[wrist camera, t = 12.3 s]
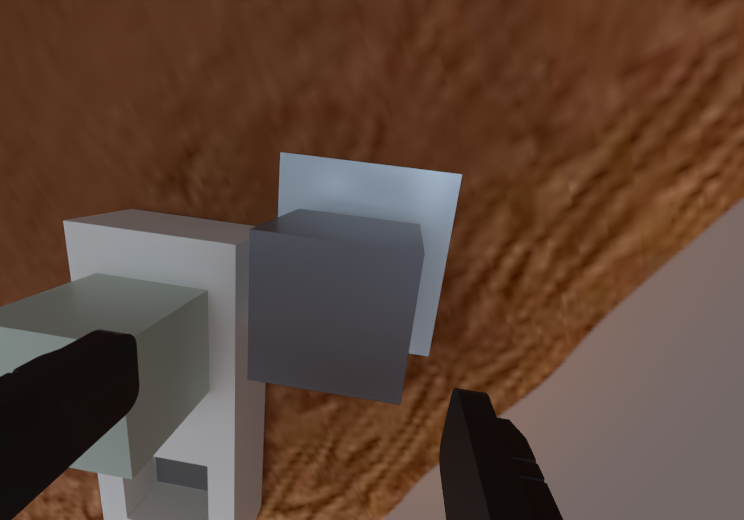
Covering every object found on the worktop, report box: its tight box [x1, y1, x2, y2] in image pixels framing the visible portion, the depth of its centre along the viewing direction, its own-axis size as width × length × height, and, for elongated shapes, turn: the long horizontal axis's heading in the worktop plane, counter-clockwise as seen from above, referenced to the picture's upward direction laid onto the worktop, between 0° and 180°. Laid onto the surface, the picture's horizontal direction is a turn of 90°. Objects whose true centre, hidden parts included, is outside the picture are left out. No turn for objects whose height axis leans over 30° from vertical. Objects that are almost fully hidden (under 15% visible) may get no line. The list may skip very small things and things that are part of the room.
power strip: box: [63, 209, 266, 520], centre depth 20 cm, size 26×8×5 cm, turn 173°
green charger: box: [0, 273, 210, 480], centre depth 15 cm, size 5×5×7 cm
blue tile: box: [278, 152, 462, 356], centre depth 18 cm, size 9×10×1 cm
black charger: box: [247, 209, 425, 405], centre depth 15 cm, size 5×5×7 cm
